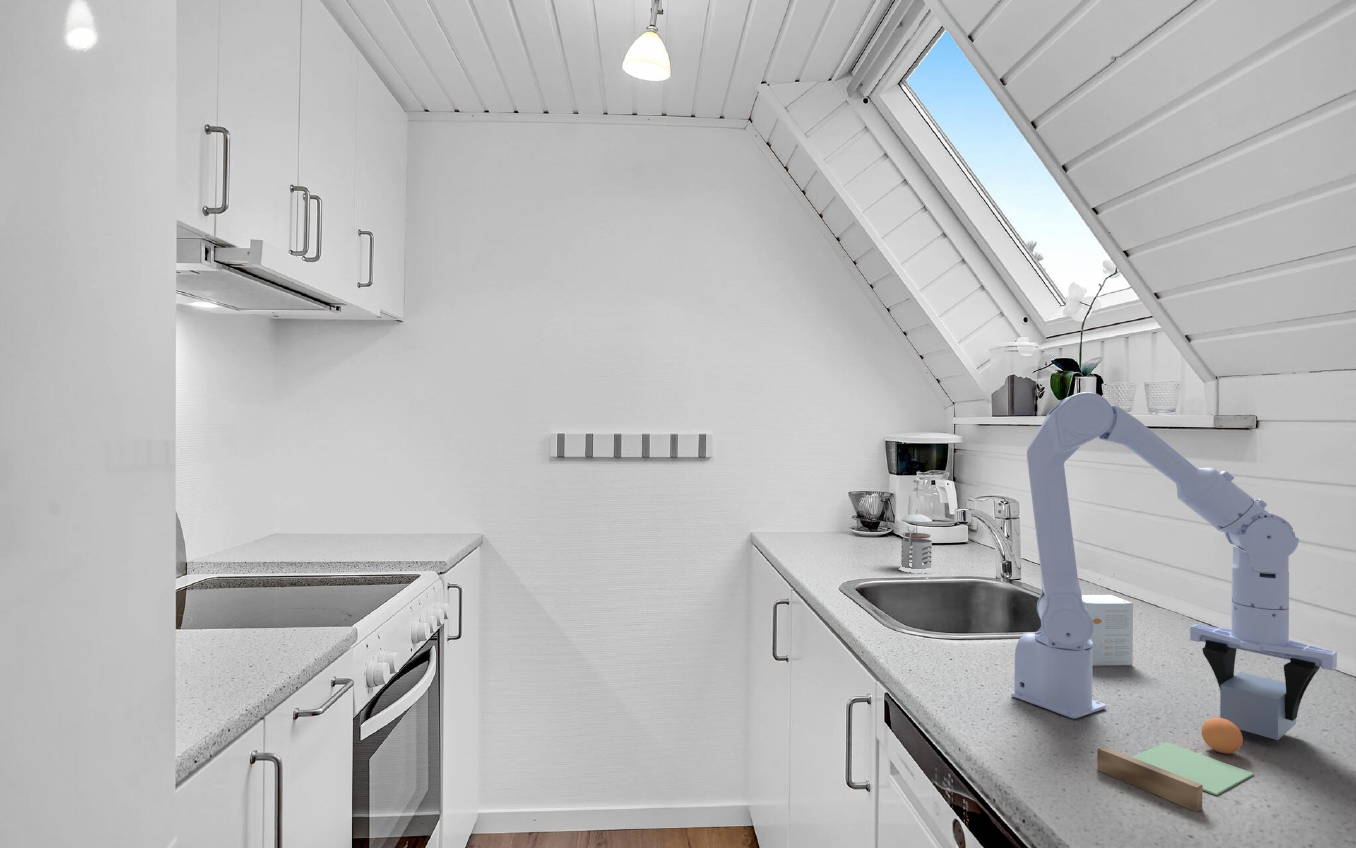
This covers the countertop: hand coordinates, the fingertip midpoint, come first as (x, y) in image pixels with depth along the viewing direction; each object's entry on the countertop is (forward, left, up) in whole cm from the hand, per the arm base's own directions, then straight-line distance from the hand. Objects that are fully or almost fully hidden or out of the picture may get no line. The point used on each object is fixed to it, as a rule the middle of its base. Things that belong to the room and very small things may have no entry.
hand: (1258, 709), depth 91 cm
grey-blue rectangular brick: (0, 0, -2) cm, 2 cm away
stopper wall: (0, -27, -3) cm, 28 cm away
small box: (-26, +11, -3) cm, 28 cm away
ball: (0, -10, -1) cm, 10 cm away
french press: (-91, +41, -3) cm, 100 cm away
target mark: (0, -18, -3) cm, 18 cm away
